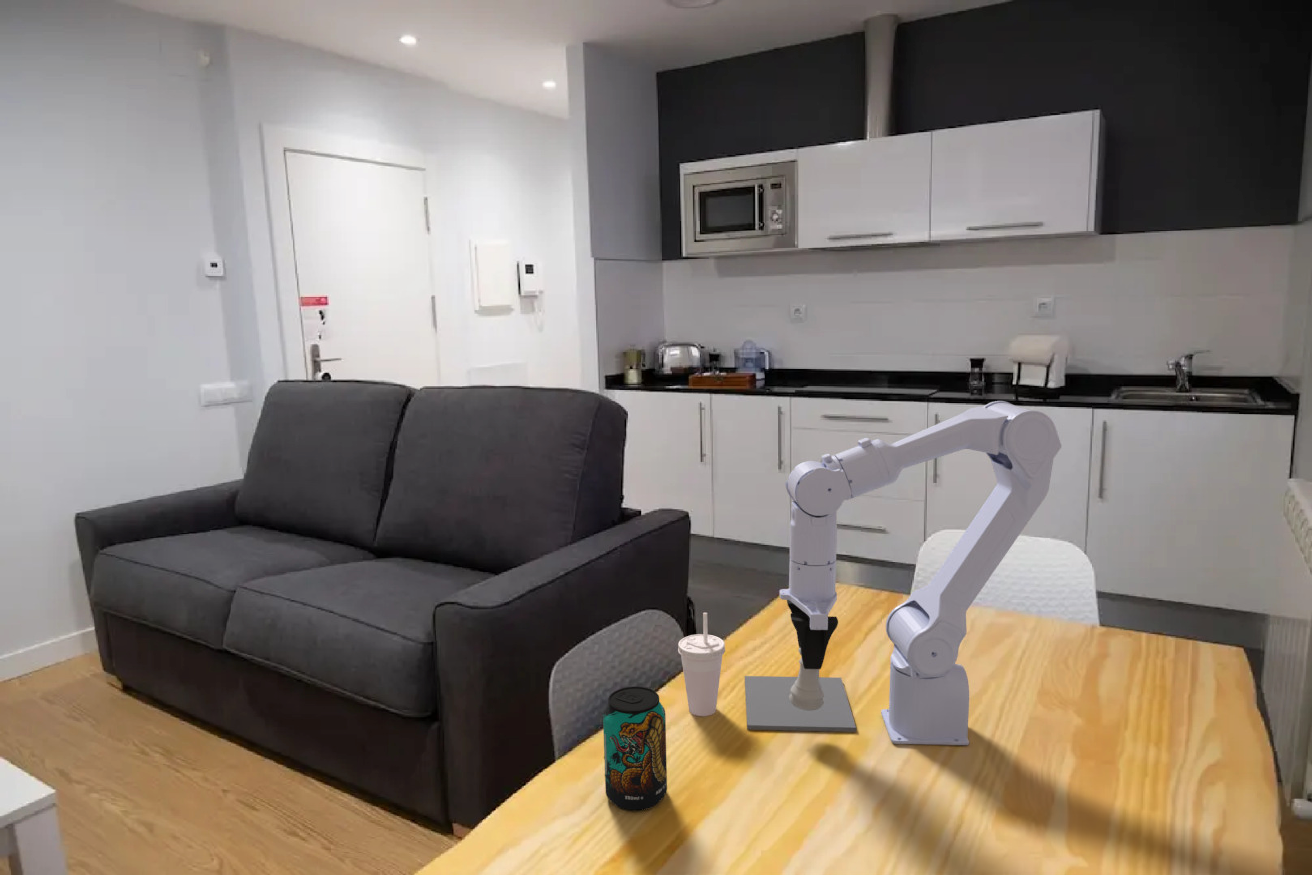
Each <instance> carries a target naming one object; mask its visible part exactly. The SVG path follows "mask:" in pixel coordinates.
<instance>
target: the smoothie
mask: <svg viewBox="0 0 1312 875" xmlns="http://www.w3.org/2000/svg"><path fill="white" fill-rule="evenodd" d="M702 614H703V615H702V617H703V618H702V622H703V623H702V624H703V625H702V627H703V630H702V631H703V634H702V633H698V634H690V635H688V636H685V637H683V638H681V639H680V640H679V641H678V648H677V649H678V650H677V652H678V654H679V655H680V656H681V666H682V670H683V678H684V684H685V692H686V697H687V698H686V699H687V705H688V711H689V713H691V715H693V716H697V717H708V716H711V715H713V714H714V713H715V712H716V711H717V704H718V696H719V689H720V688H719V686H720V678H721V672H722V671H721V670H722V662H723V655H724V653H725V652H726V644H725V641H724V640H723V639H722V638H720V637H718V636H716V635H712V634H708V612H703V613H702Z"/></svg>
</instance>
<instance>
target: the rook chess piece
mask: <svg viewBox="0 0 1312 875" xmlns="http://www.w3.org/2000/svg"><path fill="white" fill-rule="evenodd" d="M798 652H799V654H800V656H801V649H800V648H799V647H798ZM798 662H799V670H798V671H799V672H798V674H797V677H798V678H797V680H796V681H795V683H794V685H793V686H792V687H791V689H790V692H791V694H790V696H789V700H790V701H791V703H792V704H793V705H794V706H795V707H797V708H799V709H803V710H809V711H812V710H817V709H819V708H820V707H821V706H822V705H823V704H824V701H823V697H824V693H823V690H822V689H821V688H822V687H821V685H820V682H819V677H820V669H805V668H804V665H803V661H802V656H801V658H800V659H799V660H798Z"/></svg>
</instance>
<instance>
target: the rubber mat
mask: <svg viewBox="0 0 1312 875" xmlns="http://www.w3.org/2000/svg"><path fill="white" fill-rule="evenodd" d="M797 678H798V676H772V675H771V676H768V675H767V676H765V675H763V676H761V675H759V676H758V675H744V690H745V691H744V692H745V710H746V711H745V714H746V729H747V730H752V731H753V730H756V731H757V730H759V731H798V732H799V731H802V732H806V731H808V732H841V733H842V732H844V733H845V732H848V733H850V732H851V733H853V732H854V733H856V732H857V727H856V723H855V720H854V717H853V713H852V710H851V706H850V703H849V699H848V696H847V693H846V688H845V687H844V682H843V680H842V677H834V676H833V677H832V676H831V677H824V676H821V677H820V676H819V682H820V685H821V687H822V688H821V689H822V690H823V693H824V697H823V701H824V704H823V705H822V706H821V707H820V708H819V709H817V710H812V711H809V710H803V709H799V708H797V707H795V706H794V705H793V704H792V703H791V701H790V700H789V696H790V694H791V692H790V689H791V687H792V686H793V685H794V683H795V681H796V680H797Z"/></svg>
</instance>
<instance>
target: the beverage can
mask: <svg viewBox="0 0 1312 875" xmlns="http://www.w3.org/2000/svg"><path fill="white" fill-rule="evenodd" d="M607 701H608V702H607V704H606V706H605V708H604V710H603V713H602V722H603V724H602V725H603V727H602V728H603V750H604V751H603V752H604V753H603V754H604V758H603V759H604V780H605V781H604V782H605V787H604V788H605V794H606V798H607V799H608V800H609V801H610V802H611V803H613V805H615V806H616V808H619V809H621V810H625V811H630V812H639V811H640V812H641V811H646V810H649V809H651V808H653V807H655V806H657V805H658V804H659V803H660V802H661V801H662V800H663V799H664V798H665V796H666V794H667V790H668V775H667V774H668V773H667V772H668V770H667V731H666V730H667V729H666V728H667V727H666V724H667V723H666V718H667V717H666V710H665V707H664V706H663V704H662V703H661V702H660V695H659V694H658V692H656V691H655V690H653V689H651V688H648V687H645V686H627V687H622V688H618V689H616V690H614V691H613V692H611V694H610V695H609V697H608V699H607Z"/></svg>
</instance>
